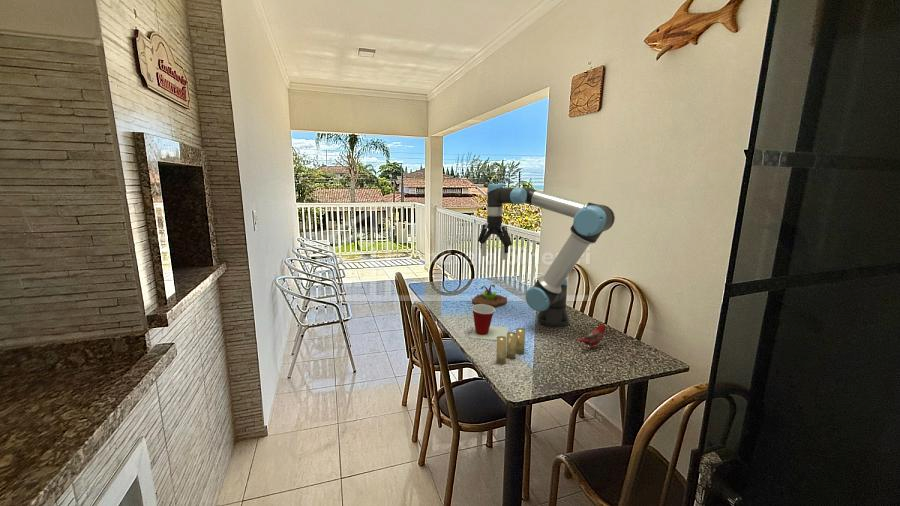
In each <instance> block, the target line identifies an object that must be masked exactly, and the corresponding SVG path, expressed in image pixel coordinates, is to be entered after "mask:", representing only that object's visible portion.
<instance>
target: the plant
mask: <svg viewBox="0 0 900 506" xmlns="http://www.w3.org/2000/svg"><path fill="white" fill-rule="evenodd" d="M484 288H485V290H484V291H483V293H482V292H480V294H477V295H475V296H474V297H473V298H472V299H471V304H472V305H473V304H474V305H477V304H485V305H489V306H492V307H494V308H495V309H498V308H500V307H504V306H506V305H507V303H508V298H507V297H505V296H503V295H500V294H498V292H497V291H495V292H492V288H496V284H490V285H489V287H488V288H487V286H484V285H483V286H481V287H480V289H481V290H483V289H484ZM474 305H473V306H474Z"/></svg>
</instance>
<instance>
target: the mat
mask: <svg viewBox="0 0 900 506" xmlns="http://www.w3.org/2000/svg"><path fill="white" fill-rule="evenodd" d="M509 330H510V329H509V327H508V326H497V325H490V327H489V332H488V334H485V335H480V334H477V333H476V331H475V326H474V328H473V329H472V332H471V334H470V336H469V339H470V340H471V339H474V340H484V341H496V342H497V337H498V336H504V337H506V339H507V333H508V332H509Z"/></svg>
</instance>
